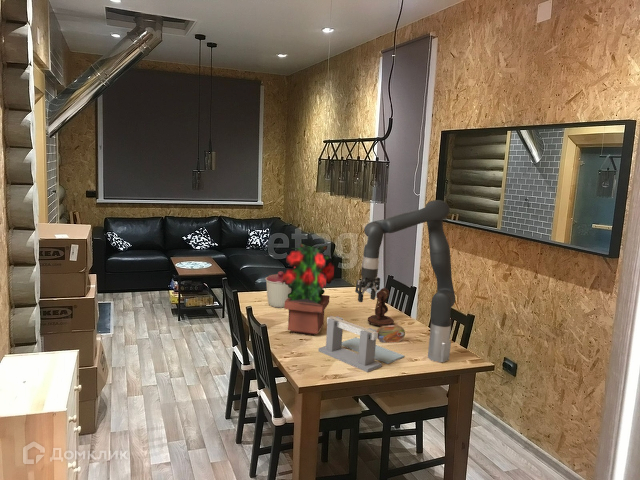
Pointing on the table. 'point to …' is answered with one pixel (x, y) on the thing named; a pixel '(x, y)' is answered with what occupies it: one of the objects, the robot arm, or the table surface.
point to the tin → (390, 333)
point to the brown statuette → (381, 310)
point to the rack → (357, 360)
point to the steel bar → (353, 327)
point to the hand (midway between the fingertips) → (366, 300)
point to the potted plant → (307, 288)
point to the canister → (277, 290)
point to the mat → (380, 352)
